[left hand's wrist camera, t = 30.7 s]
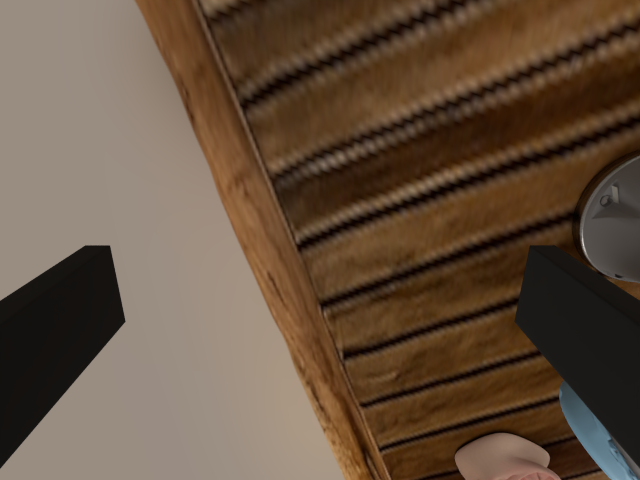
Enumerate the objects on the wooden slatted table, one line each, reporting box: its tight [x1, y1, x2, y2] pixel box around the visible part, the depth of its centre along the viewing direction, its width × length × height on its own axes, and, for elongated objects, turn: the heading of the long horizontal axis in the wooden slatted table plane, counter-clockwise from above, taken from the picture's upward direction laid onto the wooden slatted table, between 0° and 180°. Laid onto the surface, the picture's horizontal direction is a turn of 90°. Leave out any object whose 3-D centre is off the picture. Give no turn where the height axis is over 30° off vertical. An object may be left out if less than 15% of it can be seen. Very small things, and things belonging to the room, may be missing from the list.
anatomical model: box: [455, 433, 561, 480], centre depth 57 cm, size 13×4×12 cm
